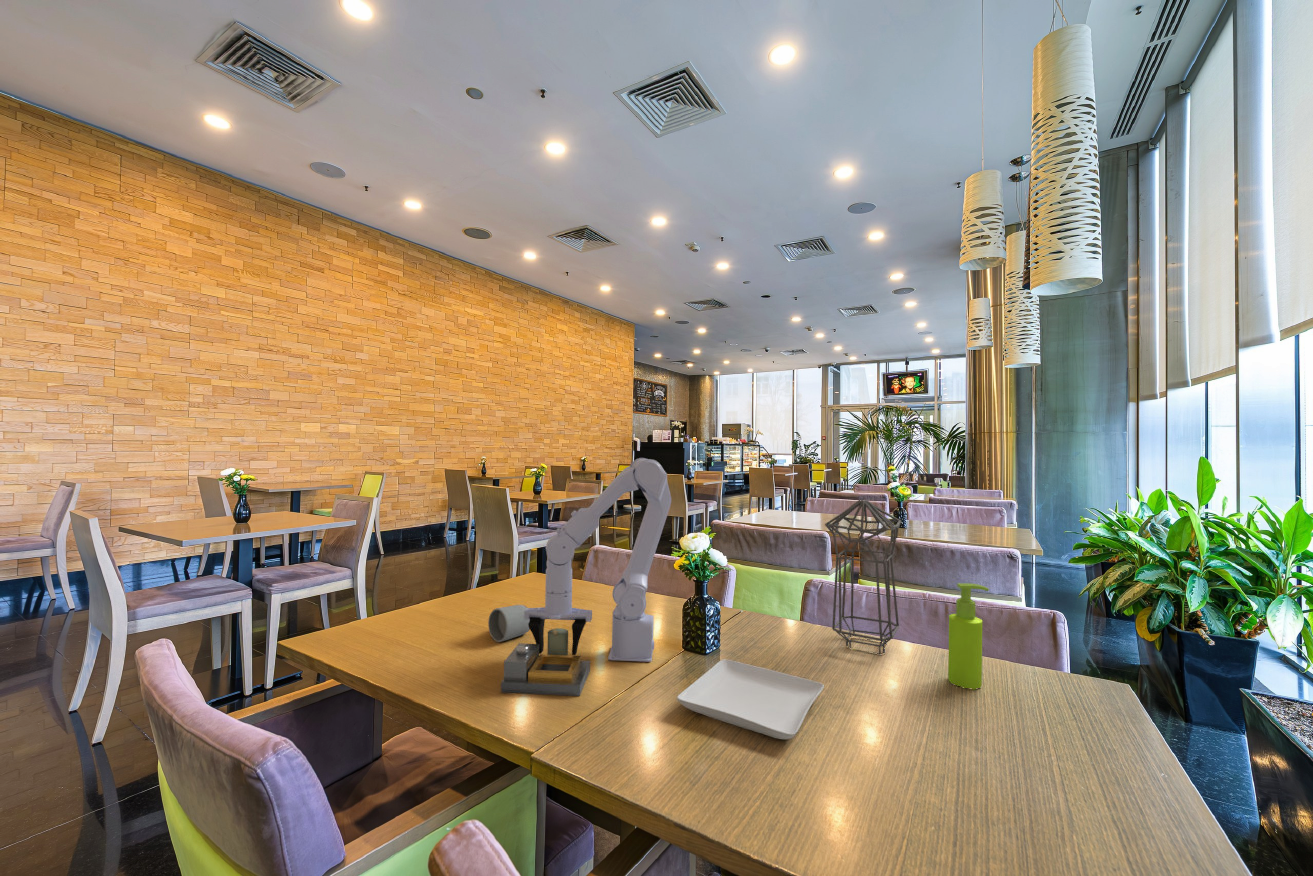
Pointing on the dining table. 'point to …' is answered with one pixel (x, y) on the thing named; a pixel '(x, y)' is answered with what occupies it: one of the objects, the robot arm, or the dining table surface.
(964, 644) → the soap dispenser
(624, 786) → the dining table surface
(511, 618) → the grey hollow cylinder
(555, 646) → the spout can
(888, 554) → the geometric lantern
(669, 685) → the dining table surface
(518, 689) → the assembly fixture
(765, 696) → the salad plate
